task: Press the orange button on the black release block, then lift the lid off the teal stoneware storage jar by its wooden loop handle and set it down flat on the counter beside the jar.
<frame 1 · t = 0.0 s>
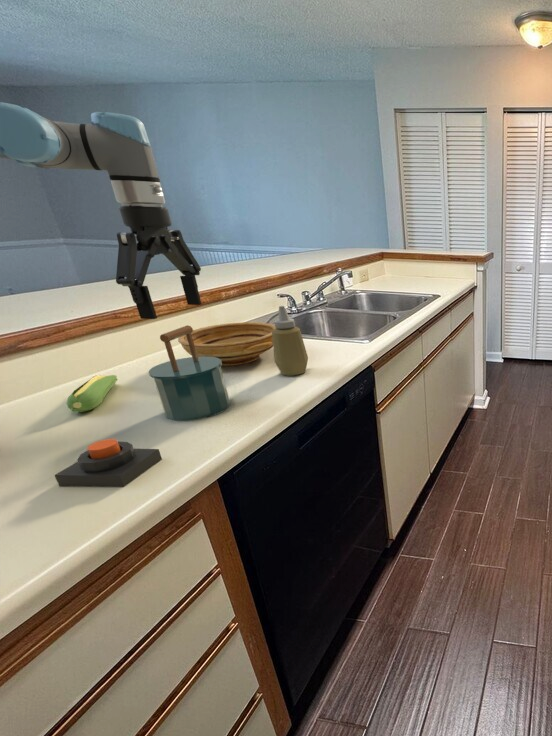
hand: (173, 311, 92), 20 cm above the countertop, tool pointing down, fingers open, 13 cm apart
squeeze bottle: (294, 373, 114), on the countertop
wooden bowl: (237, 359, 122), on the countertop
lid: (187, 368, 88), point 9 cm above the countertop, touching jar
edible corn: (98, 399, 96), on the countertop
release block: (113, 472, 70), on the countertop
button: (104, 449, 68), point 5 cm above the countertop, slide at 0.2 cm
jar: (199, 409, 92), on the countertop
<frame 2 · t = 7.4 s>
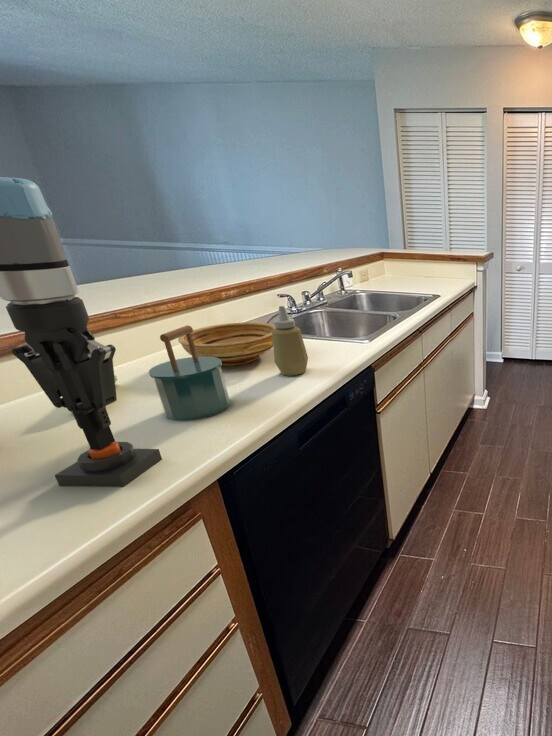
hand: (103, 445, 68), 5 cm above the countertop, tool pointing down, fingers closed
button: (105, 451, 68), point 4 cm above the countertop, slide at -0.2 cm, touching gripper
everything else where it was.
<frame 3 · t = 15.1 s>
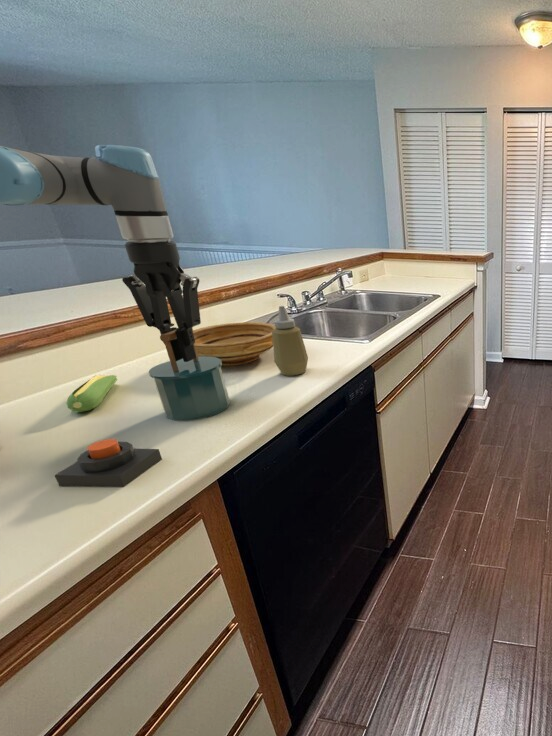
hand: (184, 359, 88), 12 cm above the countertop, tool pointing down, fingers closed on lid, 2 cm apart
lid: (187, 368, 88), point 9 cm above the countertop, touching gripper, jar
button: (104, 449, 68), point 5 cm above the countertop, slide at 0.1 cm
everything else where it was.
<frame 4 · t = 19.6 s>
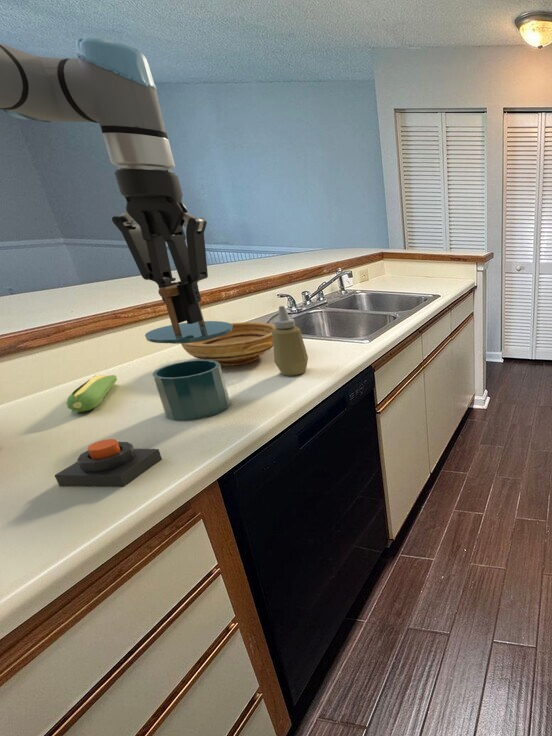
hand: (188, 321, 73), 23 cm above the countertop, tool pointing down, fingers closed on lid, 2 cm apart
lid: (191, 333, 73), point 21 cm above the countertop, touching gripper
everything else where it was.
when the fingers open (3 cm above the countertop, at t = 24.0 s): lid stays where it is, point 1 cm above the countertop.
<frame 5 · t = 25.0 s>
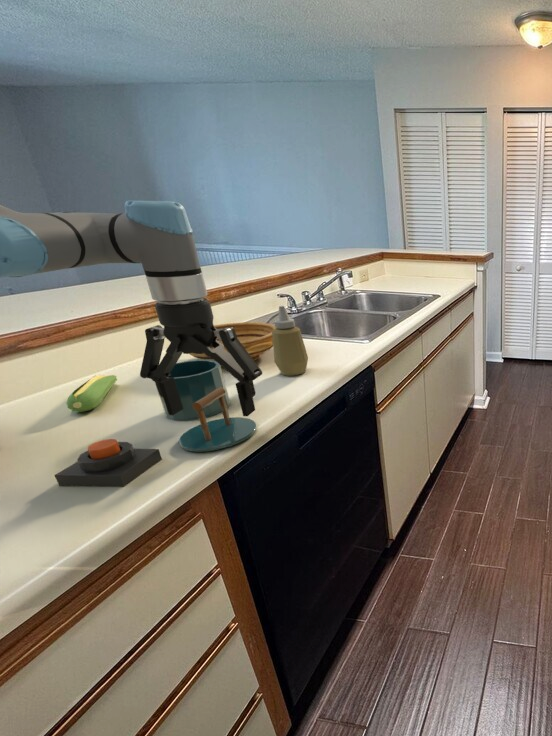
hand: (213, 412, 79), 5 cm above the countertop, tool pointing down, fingers open, 13 cm apart
lid: (219, 434, 81), point 1 cm above the countertop
everything else where it was.
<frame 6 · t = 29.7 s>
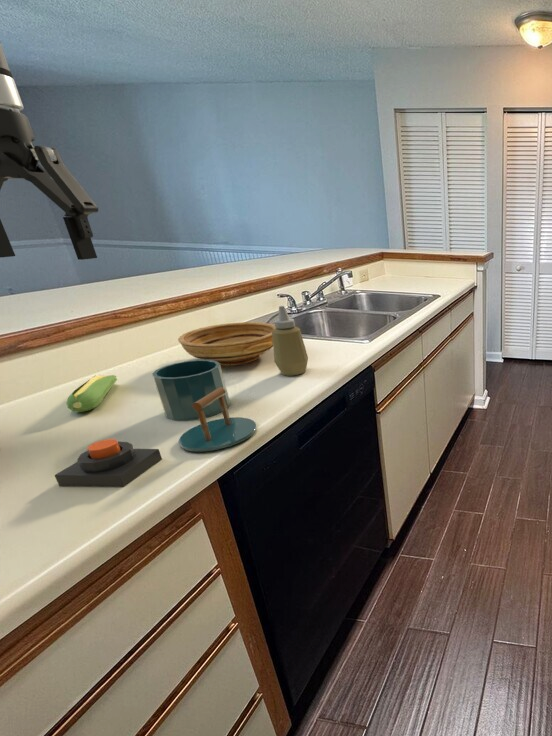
hand: (46, 258, 70), 33 cm above the countertop, tool pointing down, fingers open, 13 cm apart
nothing on the countertop moved.
at the end: button pushed in 1.0 cm at the most during the clip, back to where it started at the end; lid inside the target area on the countertop beside the jar (0.0 cm from its centre), point 0.6 cm above the countertop; lid tilted 0° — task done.
